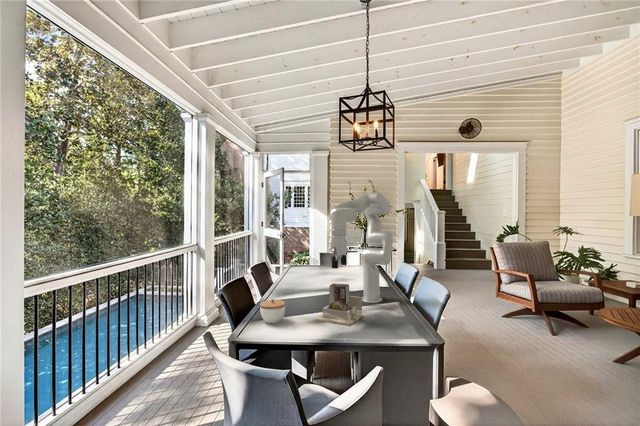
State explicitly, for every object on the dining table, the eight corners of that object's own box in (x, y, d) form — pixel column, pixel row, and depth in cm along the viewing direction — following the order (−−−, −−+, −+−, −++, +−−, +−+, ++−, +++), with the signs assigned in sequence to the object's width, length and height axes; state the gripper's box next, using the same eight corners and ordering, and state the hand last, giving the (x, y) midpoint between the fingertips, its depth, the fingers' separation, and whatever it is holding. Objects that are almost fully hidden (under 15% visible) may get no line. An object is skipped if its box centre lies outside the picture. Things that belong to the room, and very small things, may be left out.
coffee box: (350, 315, 185) (349, 284, 185) (346, 319, 179) (346, 286, 179) (333, 313, 189) (332, 282, 188) (329, 317, 183) (328, 285, 182)
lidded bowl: (257, 319, 184) (257, 297, 183) (281, 316, 188) (281, 295, 188) (263, 326, 172) (263, 303, 172) (288, 323, 177) (288, 301, 177)
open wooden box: (331, 311, 195) (331, 293, 195) (362, 316, 186) (362, 297, 186) (316, 320, 181) (316, 300, 181) (348, 325, 172) (348, 305, 172)
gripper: (340, 231, 192) (340, 263, 193) (324, 234, 177) (324, 269, 178) (353, 231, 188) (353, 264, 189) (337, 234, 173) (338, 270, 174)
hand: (339, 266), depth 183 cm, fingers open, 9 cm apart
